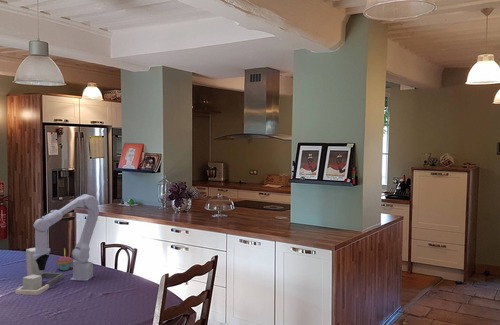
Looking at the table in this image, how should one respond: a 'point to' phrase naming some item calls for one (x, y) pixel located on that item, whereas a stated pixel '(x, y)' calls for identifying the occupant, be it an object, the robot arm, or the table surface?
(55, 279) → the frame
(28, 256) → the skincare box
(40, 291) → the bracket frame
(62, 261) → the cupcake
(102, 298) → the table surface
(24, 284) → the skincare box
